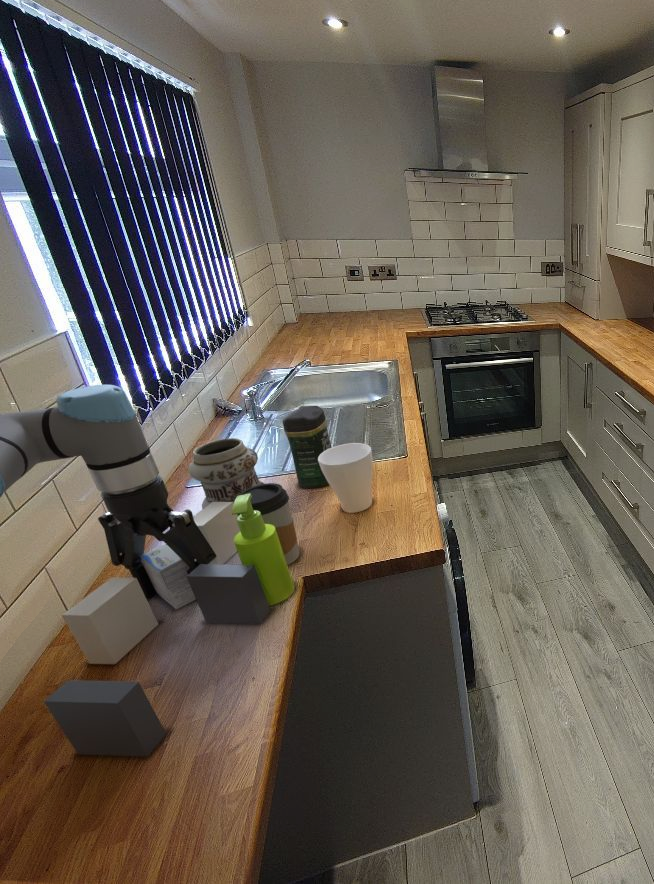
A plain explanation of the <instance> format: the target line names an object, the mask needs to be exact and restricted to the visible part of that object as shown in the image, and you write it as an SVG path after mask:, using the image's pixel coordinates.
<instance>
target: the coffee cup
mask: <svg viewBox="0 0 654 884" xmlns="http://www.w3.org/2000/svg"><path fill="white" fill-rule="evenodd" d="M250 493H251V495H252V497H251V499H250V502H251V505H252V508H253V510H258V511H260V512H261V515H262V518H263V521H264V524H271V525H273V526H274V527H275V529H276V532H277V535H278V538H279V541H280V544H281V547H282V551H283V554H284V557H285V560H286V563H287V566H289V565H290V564H292V563H294V562H296V560H297V559H298V558H299V557H300V553H301V552H300V547H299V543H298V537H297V532H296V527H295V522H294V518H293V515H292V510H291V506H290V505H291V504H290V501H289V500H290V496H289V495H288V492H287V490H286V489H285V488H284V487H283V486H282V485H281V484H279V483H275V482H274V483H273V482H269V483H265V484H260V485H257V486H253V487H251V488H248V489H246V490H244V491H242V492H241V493H239V494H238V496H239V495H244V494H250ZM238 515H240V514H238Z"/></svg>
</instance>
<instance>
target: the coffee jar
mask: <svg viewBox="0 0 654 884" xmlns="http://www.w3.org/2000/svg"><path fill="white" fill-rule="evenodd" d="M282 428H283V432H284V434H285V436H286V438H287V441H288V444H289V447H290V452H291V457H292V461H293V465H294V469H295V474H296V479H297V482H298V483H297V484H298V485H299V487H300V488H304V489H315V488H321V487H325V486H328V485H329V483H328V481H327V480H326V478H325V476H324V474H323V472H322V470H321V467H320V465H319V462H318V457H319V455H320V454H321V453H322V452H324V451H326V450H327V449H329V448H332V447H333V446H332V444H331V439H330V436H329V433H328V431H329V430H328V423H327V418H326V415H325V411H324V410H323V408H321V407H320V406H319V405H300V406H299V407H298V408H296V409H294V410H293V411H291V412H290V413H288V414H287V416H285V417H284V418H283V419H282Z"/></svg>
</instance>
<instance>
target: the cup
mask: <svg viewBox="0 0 654 884" xmlns="http://www.w3.org/2000/svg"><path fill="white" fill-rule="evenodd" d="M331 447H332V448H329V449H327V450H326V451H324V452H322V453H321V454H320V455H319V457H318V462H319V465H320V467H321V470H322V472H323V474H324V476H325V478H326V480H327V481H328V483H329V484H328V485H329V486H330V487H331V489H332V491H333V493H334V495H335V496H336V498H337V500H338V501H339V504H340V506H341V509H342V510H343V512H345V513H348V514H354V513H355V514H356V513H359V512H362V511H365V510H367V509H369V508H370V507H371V506H372V504H373V498H372V488H373V487H372V485H373V484H372V483H373V475H374V474H373V472H374V461H373V460H374V459H373V452H372V447H371V446H370V445H368V444H367V443H361V442H350V443H349V442H348V443H343V444H339V445H338V444H337V445H335V446H331Z"/></svg>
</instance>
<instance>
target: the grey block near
mask: <svg viewBox="0 0 654 884" xmlns="http://www.w3.org/2000/svg"><path fill="white" fill-rule="evenodd" d="M43 703H44V705H45V706H46V707H47V709H48V710H49V712H50V713H51V714H50V715H52V717H53V719H54V720H55V721H56V723H57V724H58V726H59V728H60V729H61V731H62V732H63V734H64V736H65V737H66V738H67V740H68V741H69V743H70V744H71V746H72V748H73V749H74V750H75V752H76V754H77V755H81V756H82V755H84V756H85V755H86V756H87V755H88V756H114V757H115V756H118V757H119V756H120V757H149V756H150V755H151V753H152V752H153V751H154V750H155V748H156V747H157V746H158V745H159V744H160V743H161V741H162V740H163V739H164V738H165V737H166V736H167V732H166V730H165V728H164V727H163V725H162V723H161V721H160V719H159V717H158V715H157V713H156V711H155V709H154V708H153V705H152V704H151V702H150V700H149V698H148V697H147V694H146V693H145V690H144V688H143V687H142V685H141V683H140V681H124V680H123V681H121V680H119V681H118V680H86V679H85V680H83V679H81V680H80V679H67V680H66V681H65V682H64V683H63V684H62V685H60V686H59V687H58V688H57V689H56V690H54V691H53V693H51V694H50V695H49V696H48V697H46V698H45V699H44V700H43Z"/></svg>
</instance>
